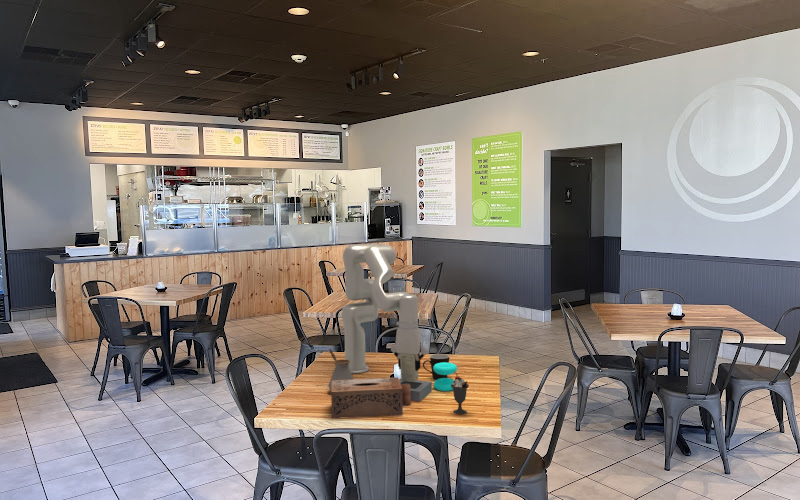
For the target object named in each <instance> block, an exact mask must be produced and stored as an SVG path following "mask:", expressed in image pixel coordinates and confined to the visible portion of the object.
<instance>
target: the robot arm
mask: <svg viewBox="0 0 800 500" xmlns="http://www.w3.org/2000/svg"><path fill="white" fill-rule="evenodd" d="M396 260H397V252H396V251H395V248H394V247H393V246H391V245H389V244H382V243H366V244H365V243H361V244H360V243H359V244H352V245H347V247H345V248H344V250H343V254H342V261H343V265H344V270H345V276H344V277H345V278H344V279H345V283H344V284H345V287H344V288H345V292H344V293H345V296H346V299H347V300H349V301H361V302H352V303H348V304H345V305H344V306H343V308H342V310H341V317H342V321H343V322H342V323H343V328H344V329H343V330H344V360H350V362H349V364H348V367H349V369H350V371H351V374H363V373H366V372H368V371H369V370H370V367H369V366H368V365H366V364H367V363H366V333H365V330H364V328H363V327H362V326H361V324H362V323H370V322H374V321H376V320H377V319H378V317H379V313H380V310H381V311H382V312H385V313H388V312H396V311H398V314H399V315H398V317H399V320H398V321H396V323H395V324H396V326H398V328H397V330H396V333H395V334H396V336H395V344H394V345H393V346H392V347H391V349H390V351H391V353H393V355H394V357H396V358H397V360H398V361H397V364H398V369H399V370H401V364H400V354H411V355H415V358H416V361H415V370H416V371H418V372H419V370H420V369H421V360H422V359H423V358H424V357H425V356H426V355H427V354H428V353H429V351H428V350H427V348H425V346H423V340H422V333H421V329H420V328H419V301H418V300H419V299H418V296H417V295H416V294H412V293H408V292H407V291H395V292H385V291H384V289H383V287H382V285H383V284H385V283H386V282H388V281H390V279H391V278H392V277H393V276H394V270H393V268H392V266H391V265H390V264H395V263H394V262H395V261H396ZM362 264H366V265H367V266H368V269H369V271H370V272H371V274H372V276H373V278H374V279H373V278H365V271H364V268H363V266H362ZM362 300H363V301H362ZM364 300H365V301H364ZM421 352H422V353H421Z"/></svg>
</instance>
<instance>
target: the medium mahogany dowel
mask: <svg viewBox="0 0 800 500" xmlns="http://www.w3.org/2000/svg"><path fill="white" fill-rule="evenodd" d="M401 386H402V401H403V405H404V406H403V407H405V406H406V407H407V406H411V404H412V403H411V402H412V401H411V390H410V384H402V385H401Z"/></svg>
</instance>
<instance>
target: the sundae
mask: <svg viewBox="0 0 800 500" xmlns="http://www.w3.org/2000/svg"><path fill="white" fill-rule="evenodd" d="M453 374H455V377H454V379H453V380H454V381H453V384H452V385H451V387H452V388H453V390H452V392H453V397H454V401H455V402H456V403H457V404H458V406H457V409H454V410H453V414H455V415H465V414H467V410H465V409H463V406H462V404H463V403H464V402H465V400H466V398H467V390H468V388H469V386H470V385H469V384H468V381H465V380H464V379H463V378H462V377H460V376H459V375H458V373H457V371H456V372H454V373H453Z"/></svg>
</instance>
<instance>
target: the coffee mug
mask: <svg viewBox="0 0 800 500" xmlns="http://www.w3.org/2000/svg"><path fill="white" fill-rule="evenodd" d="M427 362H428V363H429V364H430V367H431V368H430V369H431V370H429V369H428V368H426V367H425V364H426V363H427ZM443 362H447V363H450V355H448V354H444V353H434V354H430V355H429V360H424V361H423V363H422V367H423V369H424V370H425V371H426V372H429V373H431V376H432V380H433V381H436V380H437V379H440V378H448V375H441V374H437V373H436V372H435V371H434V370H433V367H434V365H435V364H437V363H443Z"/></svg>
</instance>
